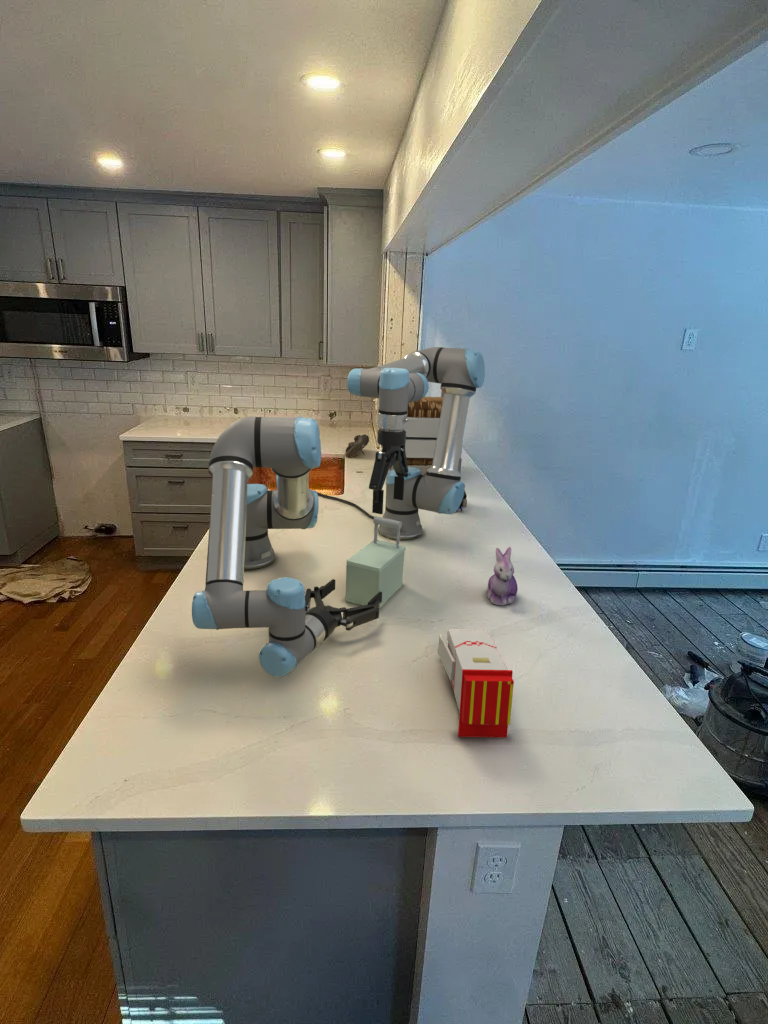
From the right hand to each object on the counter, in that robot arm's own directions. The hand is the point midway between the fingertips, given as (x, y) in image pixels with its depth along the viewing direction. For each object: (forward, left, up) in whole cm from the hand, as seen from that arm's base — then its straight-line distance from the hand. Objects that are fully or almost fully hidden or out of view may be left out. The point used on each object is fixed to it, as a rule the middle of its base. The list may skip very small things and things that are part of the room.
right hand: (388, 506), depth 155 cm
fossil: (-125, +88, -24) cm, 154 cm away
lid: (+2, -5, -13) cm, 14 cm away
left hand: (+8, -16, -18) cm, 25 cm away
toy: (+48, -18, -24) cm, 56 cm away
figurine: (+26, +21, -24) cm, 41 cm away
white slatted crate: (-79, +90, -24) cm, 122 cm away
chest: (+3, -6, -24) cm, 25 cm away
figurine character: (-34, +68, -24) cm, 79 cm away
